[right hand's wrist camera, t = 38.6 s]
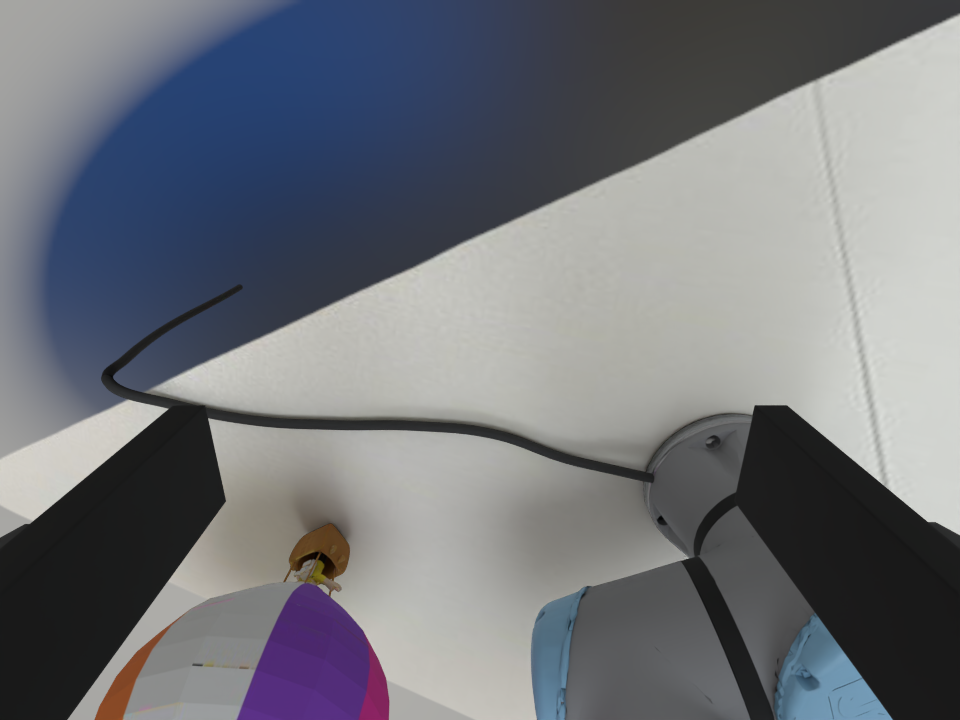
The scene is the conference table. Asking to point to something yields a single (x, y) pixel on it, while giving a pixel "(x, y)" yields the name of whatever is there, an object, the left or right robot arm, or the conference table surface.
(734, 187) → the conference table surface
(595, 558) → the conference table surface
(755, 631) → the right robot arm
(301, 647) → the toy
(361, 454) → the conference table surface
